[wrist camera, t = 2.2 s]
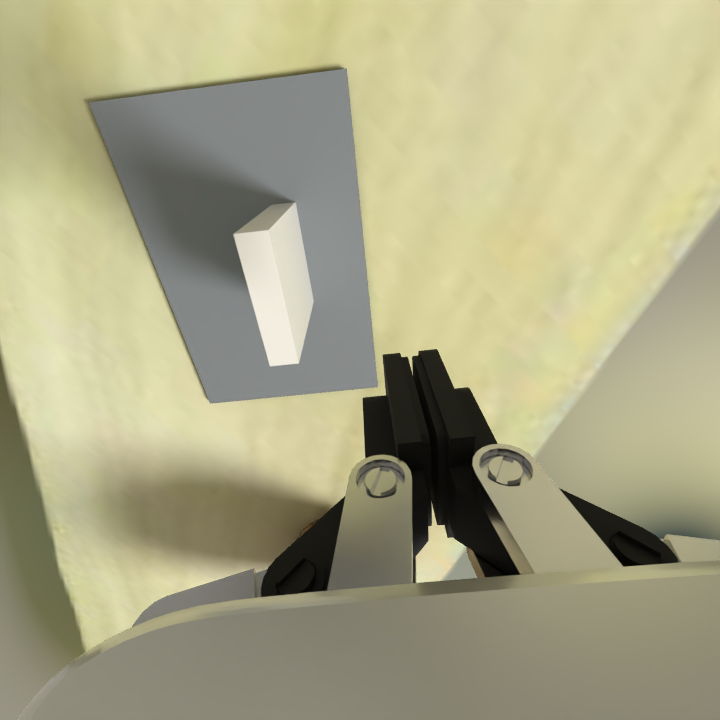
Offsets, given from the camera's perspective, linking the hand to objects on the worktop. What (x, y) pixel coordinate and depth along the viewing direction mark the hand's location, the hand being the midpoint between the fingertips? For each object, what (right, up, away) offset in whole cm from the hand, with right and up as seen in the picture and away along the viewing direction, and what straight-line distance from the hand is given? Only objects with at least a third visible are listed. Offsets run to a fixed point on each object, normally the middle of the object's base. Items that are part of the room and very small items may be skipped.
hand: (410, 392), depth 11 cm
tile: (-6, +8, +14) cm, 18 cm away
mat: (-9, +7, +15) cm, 19 cm away
